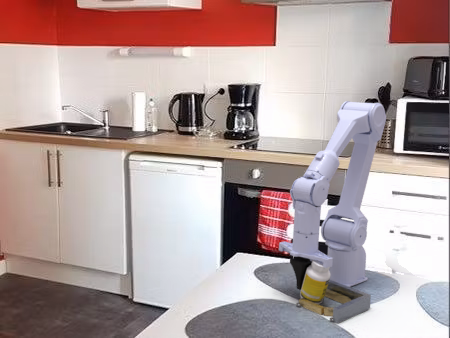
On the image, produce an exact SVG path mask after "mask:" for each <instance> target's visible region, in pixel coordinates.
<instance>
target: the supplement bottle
mask: <svg viewBox="0 0 450 338" xmlns="http://www.w3.org/2000/svg"><path fill="white" fill-rule="evenodd" d="M329 269H330V267H328V268H325V267H323V264H322V263H321V262H320V261H318V260H312V264H311V265H310V266H309V267H308V268H307V270H306V274H305V277H304V281H303V284H302V288H301V290H300V292H299V296H300V299H301V298H304V299H306V300H309V301H311V302H314V303H316V304H318V305H320V304H322V303H323V301H324V300H325V293H326V290H327V286H328V283H329V280H330V272H329Z"/></svg>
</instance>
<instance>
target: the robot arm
mask: <svg viewBox="0 0 450 338" xmlns="http://www.w3.org/2000/svg"><path fill="white" fill-rule="evenodd" d="M336 118H337V119H336V120H337V124H336V126H335V128H334V130H333V133H332V134H331V137H330V138H329V140H328V143H327V145H326V146H325V149H324V150H320V151H317V153H316V154H315V156H313V157H314V158H313V159H312V160H311V162H310V164H309V166H308V167H307V169H306V171H305V173H304V174H303V175H302V176H299V177H298V178H297V179H295V180H294V181H293V183H292V185H291V189H290V190H289V193H290V194H289V195H290V198H291V200H292V208H293V209H294V216H293V232H292V242H287V241H281V242H279V244H278V251H279V252H286V253H288V254H289V255H290V256H292V258H290V259H289V263H290V265H291V267H292V270H293V272H294V276H295V279H296V289H297V290H299V291H301V288H302V284H303V281H304V277H305V274H306V270H307V268H308V267H309V266H310V265H311V264H312V260H318V261H320V262H321V263H322V264H323V267H325V268H328V267H330V269H329V272H330V280H332V281H335V282H337V283H340V284H343V285H345V286H348V287H351V288H352V287H354V286H356V285H358V284H361V283H363V282H366V281H369V280H368V279H369V278H368V277H366V265H367V263H366V262H367V253H366V249H365V248H364V246H363V245H364V244H365V242H366V240H367V234H368V231H367V228H368V222H369V220H368V218H367V217H366V215H365V214H364V213H363V212H362V211H361V206H362V202H363V198H364V195H365V191H366V187H367V184H368V180H369V176H370V173H371V172H370V171H371V167H372V166H373V165H372V164H373V160H374V156H375V153H376V148H377V145H378V142H379V141H381V139H382V136H383V133H384V128H385V126H386V121H387V115H386V110H385V108H384V105H383V104H382V103H380V102H374V103H373V102H358V101H350V100H346V101H344V102H343V103H341V105H340V107H339V109H338V111H337V114H336ZM351 140H353V143H354V145H353V148H352V152H351V156H350V159H349V162H348V167H347V171H346V175H345V178H344V183H343V185H342V190H341V194H340V197H339V201H338V204H336V205H335V206H334V207H331V208H330V209H328V211H327V214H326V217H325V218H324V220H323V222H322V223H320V222H321V212H322V205H324V203H325V202H326V200H327V199H328V195H329V188H330V186H331V184H330V182H331V181H332V179H333V177H334V175H335V174H336V172H337V170H338V169H339V167H340V160H339V157H340V156H341V154H342V153H343V151H344V150H345V149H346V147H347V146H348V144H349V143H350V142H351ZM352 220H353V221H352ZM320 225H321V227H320ZM320 233H321V238H322V239H323V240H324V241H325V245H326V246H327V254H325V253H324V252H322V251H320V250H319V239H320Z"/></svg>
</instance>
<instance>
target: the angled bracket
mask: <svg viewBox="0 0 450 338" xmlns="http://www.w3.org/2000/svg"><path fill="white" fill-rule="evenodd" d="M325 297H326V298H328V299H330V300H333V301H335V302H337V303H341V304H340V305H337V306H334V307H330V306H328V307H327V306H323V305H320V304H316V303H314V302H311V301H309V300H306V299H304V298H301V297H300V298H299V299H298V302H296V303H295V304H296V305H295V306H296V308H301V307H303V308H304V309H307V310H309V311H311V312H313V313H314V314H315V313H316V314H317V315H321V316H325V317H326V316H327V317H329V322H331V323H334V324H335V323H336V324H339V323H342V322H344V321H347V320H349V319H351V318H353V317H355V316H358V315H360V314H362V313H364V312H366V311H369V309H370V308H371V297H372V296H371V294H369V293H366V292H364V291H361V290H358V289H356V288H354V287H352V286H351V287H348V286H345V285H343V284H340V283H337V282H335V281H332V280H329V283H328V286H327V290H326V293H325V296H324V298H325Z"/></svg>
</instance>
